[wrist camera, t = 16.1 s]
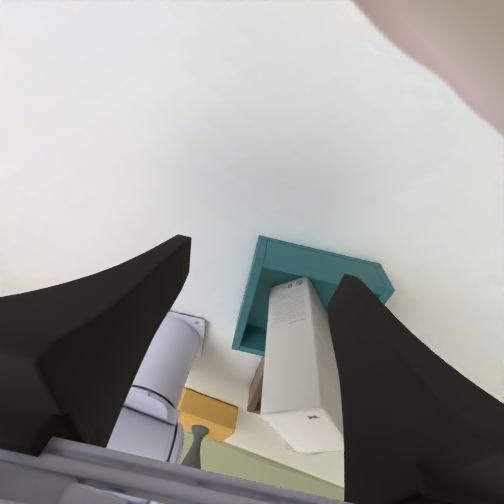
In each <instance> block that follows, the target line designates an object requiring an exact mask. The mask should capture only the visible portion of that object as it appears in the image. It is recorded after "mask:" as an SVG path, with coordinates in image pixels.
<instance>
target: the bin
mask: <svg viewBox="0 0 504 504" xmlns="http://www.w3.org/2000/svg"><path fill="white" fill-rule="evenodd" d="M344 274H348V275H353V276H357V277H358V278H359V279H361V280H362V281H363V282H364V284H365V285H366V286H367V287H368V288H369V289H370V290H371V291H372V292H373V293H374V294H375V295H376V297H377V298H378V299H379V300H380V301H381V302H382V303H383V304H385V303H386V302H387V300H388V299H389V298H390V296H391V295H392V294H393V292H394V291H395V290H394V288H393V286H392V284H391V282H390V281H389V279H388V277H387V275H386V273H385V272H384V270H383V268H382V266H381V264H377V263H373V262H369V261H364V260H360V259H356V258H352V257H347V256H343V255H339V254H335V253H331V252H326V251H322V250H318V249H314V248H309V247H305V246H301V245H297V244H293V243H288V242H284V241H280V240H276V239H271V238H267V237H263V236H259V238H258V242H257V246H256V250H255V254H254V258H253V262H252V266H251V270H250V274H249V278H248V282H247V286H246V290H245V294H244V298H243V301H242V305H241V309H240V313H239V317H238V321H237V326H236V330H235V335H234V340H233V344H232V349H234V350H239V351H243V352H247V353H252V354H256V355H260V356H265V349H266V336H267V323H268V311H269V298H270V288H271V287H274V286H277V285H280V284H283V283H286V282H289V281H293V280H295V279H298V278H302V277H307V278H309V279H310V281H311V283H312V285H313V286H314V288H315V290H316V292H317V294H318V296H319V298H320V300H321V302H322V304H323V306H324V307H325V309H326V311H327V313H328V303H329V301H330V299H331V298H332V296H333V294H334V292H335V290H336V288H337V287H338V285H339V283H340V281H341V279H342V277H343V275H344Z"/></svg>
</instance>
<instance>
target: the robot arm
mask: <svg viewBox="0 0 504 504" xmlns="http://www.w3.org/2000/svg"><path fill="white" fill-rule="evenodd" d="M190 251H191V237H187V236H183V235H179V234H178V235H176V236H174V237H173V238H171V239H169V240H167V241H165V242H164V243H162V244H160V245H158V246H156V247H154V248H153V249H151V250H149V251H147V252H145V253H143V254H141V255H139V256H137V257H135V258H132V259H130V260H128V261H126V262H124V263H122V264H119V265H117V266H114V267H112V268H109V269H107V270H104V271H101V272H99V273H96V274H93V275H90V276H86V277H83V278H80V279H77V280H73V281H70V282H67V283H63V284H59V285H55V286H51V287H47V288H43V289H39V290H34V291H30V292H25V293H21V294H16V295H10V296H4V297H0V504H161V503H164V504H504V404H503V403H502V402H500V401H499V400H497V399H496V398H494V397H493V396H491V395H490V394H488V393H487V392H485V391H484V390H483V389H481V388H480V387H478V386H477V385H476V384H474V383H473V382H471V381H470V380H469V379H467V378H466V377H464V376H463V375H462V374H461V373H459V372H458V371H457V370H455V369H454V368H453V367H451V366H450V365H449V364H448V363H446V362H445V361H444V360H443V359H441V358H440V357H439V356H438V355H436V354H435V353H434V352H433V351H432V350H431V349H429V348H428V347H427V346H426V345H425V344H424V343H422V342H421V341H420V340H419V339H418V338H417V337H416V336H415V335H414V334H412V333H411V332H410V331H409V330H408V329H407V328H406V327H405V326H404V325H403V324H402V323H401V322H400V321H399V320H398V319H397V318H396V317H395V316H394V315H393V314H392V313H391V312H390V311H389V309H388V308H387V307H386V306H385V305H384V304H383V303H382V302H381V301H380V300H379V299H378V298H377V297H376V295H375V294H374V293H373V292H372V291H371V290H370V289H369V288H368V287H367V286H366V285H365V284H364V282H363V281H362V280H361V279H359V278H358V277H357V276H353V275H348V274H344V275H343V277H342V279H341V281H340V283H339V285H338V287H337V288H336V290H335V292H334V294H333V296H332V298H331V299H330V301H329V303H328V320H329V328H330V334H331V339H332V344H333V349H334V354H335V359H336V364H337V369H338V375H339V382H340V392H341V403H342V418H343V437H344V483H345V496H344V501H339V500H334V499H331V498H326V497H321V496H317V495H313V494H308V493H304V492H299V491H294V490H290V489H286V488H281V487H277V486H272V485H267V484H263V483H259V482H254V481H250V480H245V479H241V478H237V477H232V476H228V475H223V474H218V473H214V472H210V471H205V470H201V469H196V468H192V467H187V466H183V465H179V461H180V457H181V454H182V450H183V444H184V433H183V427H182V424H181V423H179V422H177V421H178V418H179V415H180V411H179V410H177V406H178V403H179V400H180V397H181V395H182V392H183V389H184V386H185V383H186V380H187V377H188V374H189V372H190V369H191V366H192V363H193V360H194V358H201V355H202V348H203V341H204V334H205V327H206V321H205V320H204V319H200V318H196V317H192V316H187V315H183V314H179V313H174V312H170V311H169V310H170V308H171V307H172V305H173V303H174V302H175V300H176V298H177V297H178V295H179V293H180V291H181V290H182V287H183V285H184V283H185V281H186V278H187V276H188V273H189V266H190Z"/></svg>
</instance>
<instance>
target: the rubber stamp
mask: <svg viewBox="0 0 504 504" xmlns="http://www.w3.org/2000/svg"><path fill="white" fill-rule="evenodd" d="M177 410H179V411H180V415H179V418H178V421H177V422H179V423H181V424H182V427H183V430H185V431H188V432H191V433H193V435H194V441H193V444H192V446H191V448H190V450H189V452H188V453H187V455H186V457H185V458H184V460H183V462H182V464H181V465H183V466H187V467H192V468H196V469H201V466H200V465H201V464H200V445H201V441H202V439H203V437H206V438H208V439H211V440H214V441H217V442H222V441H224V440H225V439H226V438H228V437H229V436H230V435H232V434H233V433H234V432H235V427H236V420H237V414H238V408H236V407H234V406H231V405H229V404H226V403H223V402H221V401H218V400H216V399H213V398H210V397H208V396H205V395H202V394H200V393H197V392H194V391H192V390H189V389H187V388H184V389H183V392H182V395H181V397H180V400H179V403H178V406H177Z"/></svg>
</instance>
